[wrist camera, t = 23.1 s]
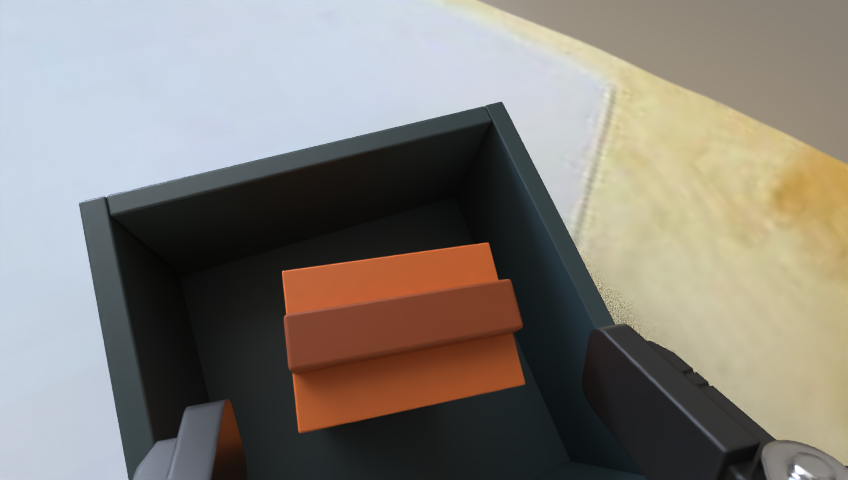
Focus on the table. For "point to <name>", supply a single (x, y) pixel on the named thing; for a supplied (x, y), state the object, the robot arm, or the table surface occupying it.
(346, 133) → the table surface
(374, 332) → the block
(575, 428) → the bin
